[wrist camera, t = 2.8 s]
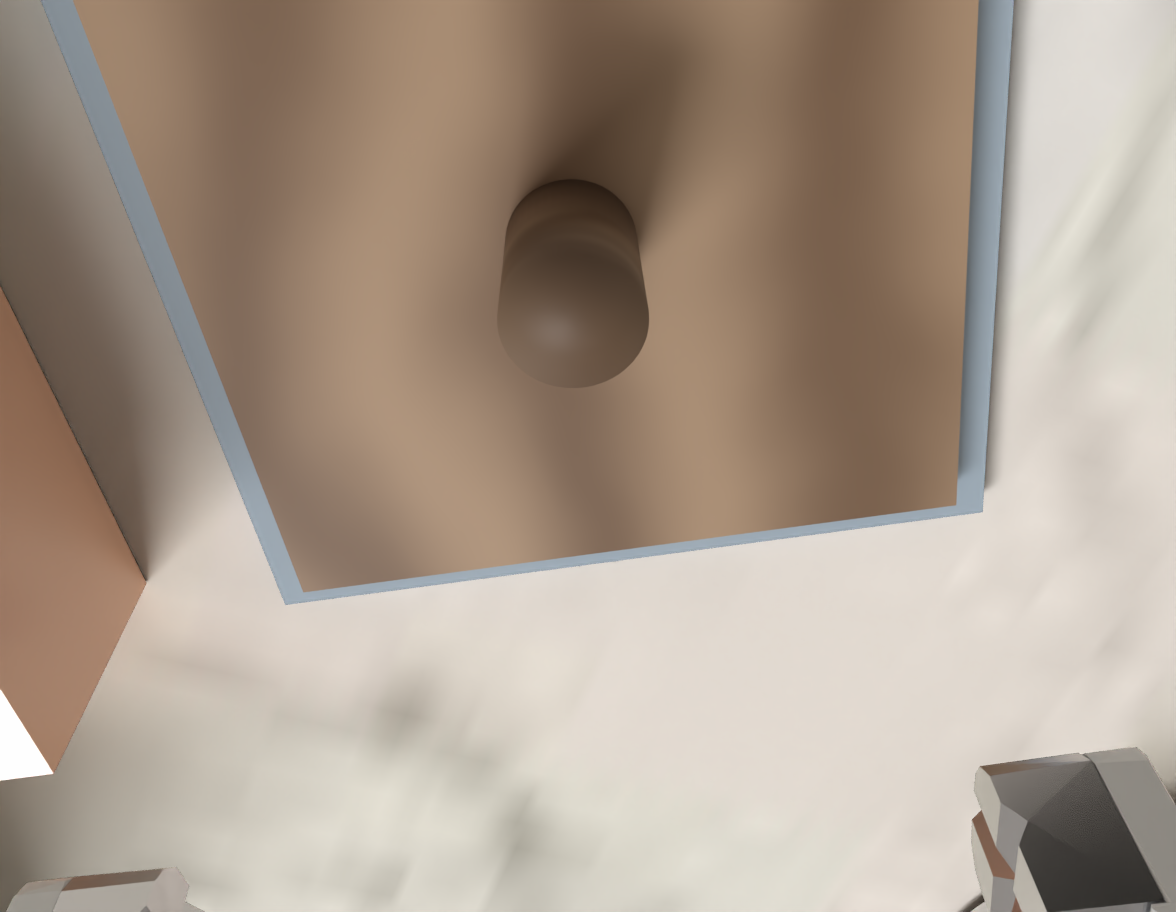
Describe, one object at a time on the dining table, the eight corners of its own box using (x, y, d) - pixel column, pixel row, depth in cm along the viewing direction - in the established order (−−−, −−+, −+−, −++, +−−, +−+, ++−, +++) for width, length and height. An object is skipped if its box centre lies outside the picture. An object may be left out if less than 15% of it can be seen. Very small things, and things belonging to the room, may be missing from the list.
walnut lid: (978, -304, 20) (1083, -315, 16) (947, 488, 30) (1007, 604, 26) (38, -135, 21) (-83, -105, 17) (308, 574, 31) (271, 698, 27)
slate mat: (1024, -379, 20) (1037, -383, 19) (975, 499, 31) (982, 512, 30) (-21, -187, 21) (-35, -185, 21) (289, 591, 32) (285, 604, 32)
